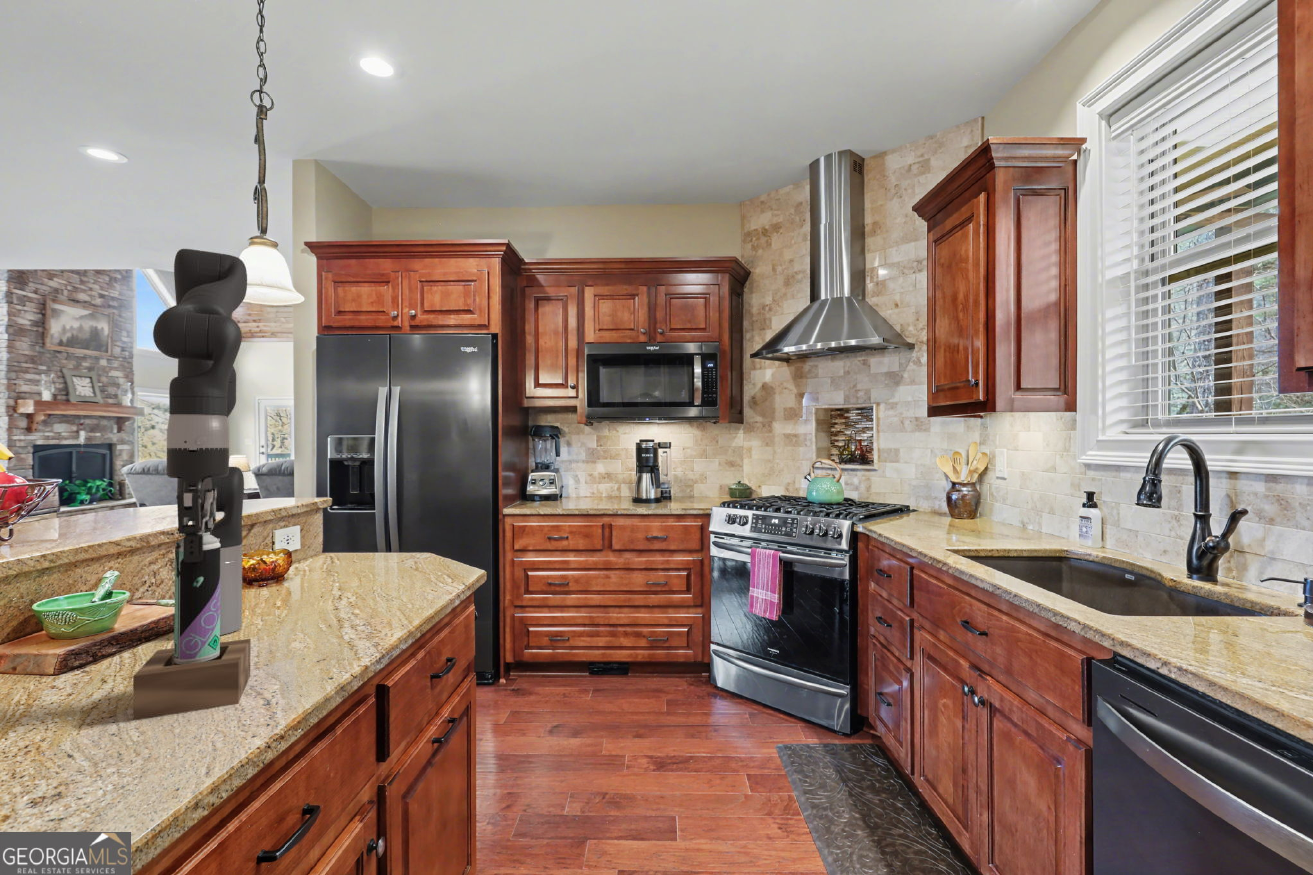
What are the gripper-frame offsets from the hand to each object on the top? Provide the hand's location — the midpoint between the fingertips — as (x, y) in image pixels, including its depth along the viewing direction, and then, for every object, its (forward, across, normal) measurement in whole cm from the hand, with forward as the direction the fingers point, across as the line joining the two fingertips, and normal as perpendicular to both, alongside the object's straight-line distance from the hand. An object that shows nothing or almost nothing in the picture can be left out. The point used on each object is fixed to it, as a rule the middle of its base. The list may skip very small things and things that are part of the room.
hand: (197, 557), depth 92 cm
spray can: (+15, 0, 0) cm, 15 cm away
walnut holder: (+21, 0, 0) cm, 21 cm away
